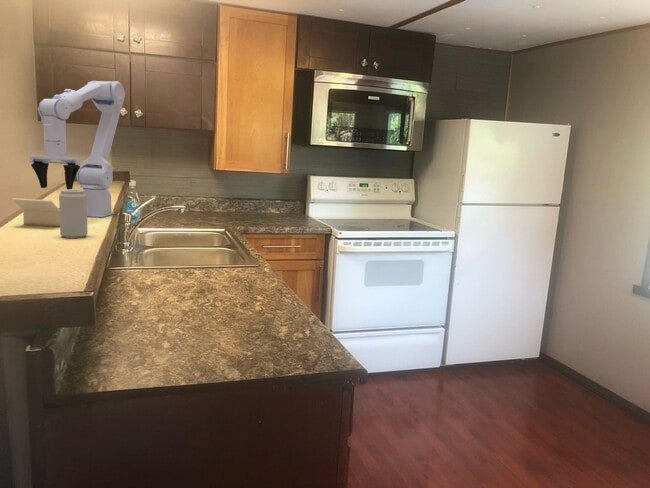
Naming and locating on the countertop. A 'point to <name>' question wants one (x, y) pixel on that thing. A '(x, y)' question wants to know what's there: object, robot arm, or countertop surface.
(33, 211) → the carton
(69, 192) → the beverage can
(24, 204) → the flap
